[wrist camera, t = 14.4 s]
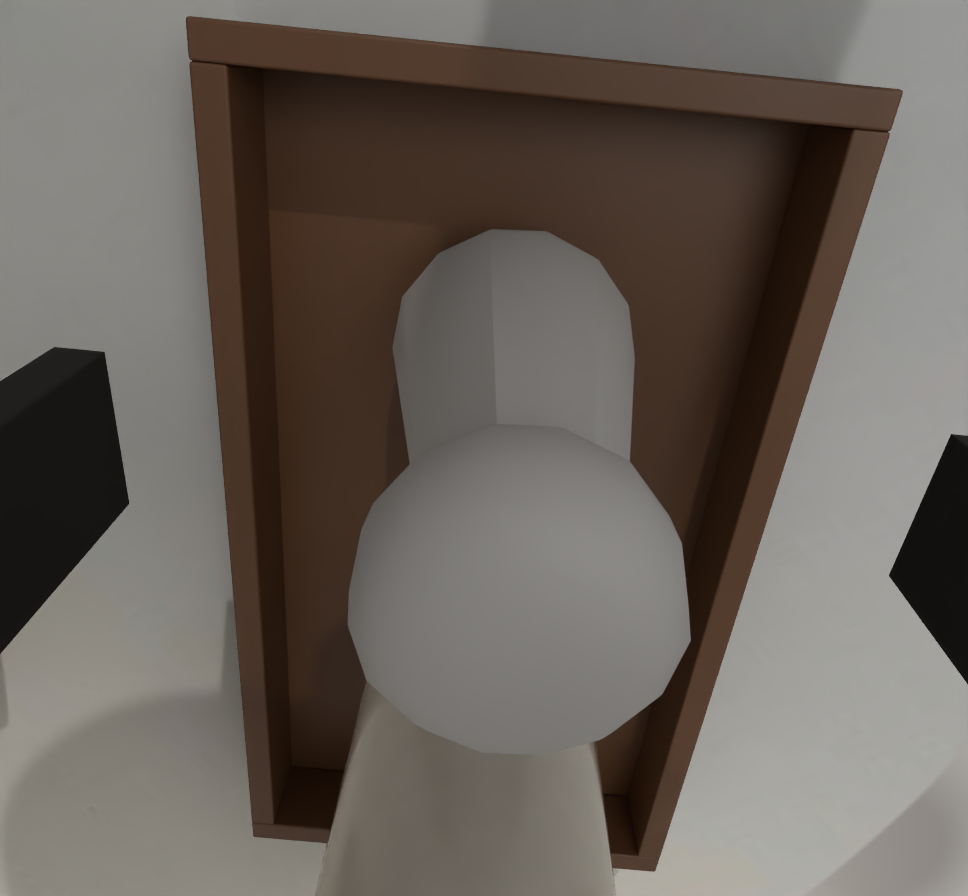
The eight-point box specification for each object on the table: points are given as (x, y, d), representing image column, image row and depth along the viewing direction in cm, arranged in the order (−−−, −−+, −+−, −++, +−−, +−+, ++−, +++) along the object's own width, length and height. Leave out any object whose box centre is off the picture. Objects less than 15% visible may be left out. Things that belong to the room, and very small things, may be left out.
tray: (235, 24, 17) (184, 15, 15) (843, 86, 18) (904, 89, 15) (276, 765, 29) (252, 837, 26) (642, 797, 29) (655, 872, 27)
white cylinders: (394, 497, 23) (274, 943, 11) (588, 515, 23) (670, 977, 11) (383, 764, 28) (295, 1251, 16) (539, 778, 28) (560, 1271, 17)
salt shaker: (520, 454, 22) (531, 891, 10) (364, 333, 20) (168, 683, 9) (665, 309, 20) (888, 650, 8) (503, 160, 18) (491, 318, 6)
